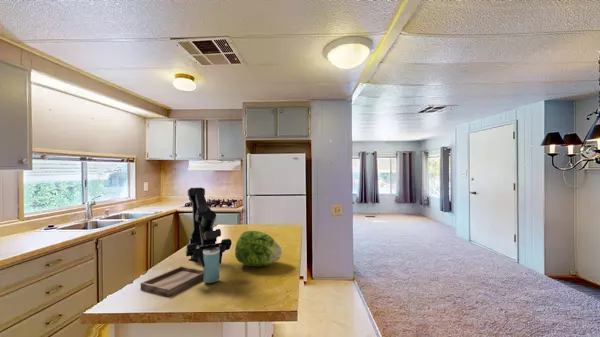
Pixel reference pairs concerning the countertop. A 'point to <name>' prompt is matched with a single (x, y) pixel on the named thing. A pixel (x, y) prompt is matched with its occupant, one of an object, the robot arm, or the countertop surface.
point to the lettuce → (257, 249)
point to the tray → (173, 281)
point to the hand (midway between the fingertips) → (212, 264)
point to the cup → (211, 265)
